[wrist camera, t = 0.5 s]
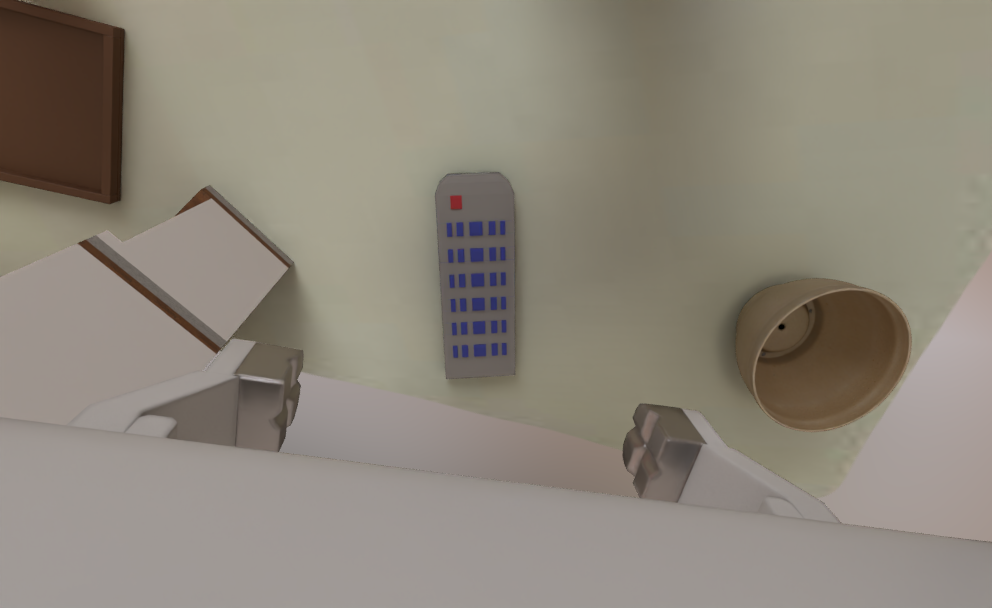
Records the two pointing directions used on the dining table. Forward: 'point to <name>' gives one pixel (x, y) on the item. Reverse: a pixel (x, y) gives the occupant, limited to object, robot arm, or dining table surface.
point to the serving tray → (60, 102)
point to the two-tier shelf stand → (129, 309)
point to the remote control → (477, 274)
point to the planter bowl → (821, 352)
